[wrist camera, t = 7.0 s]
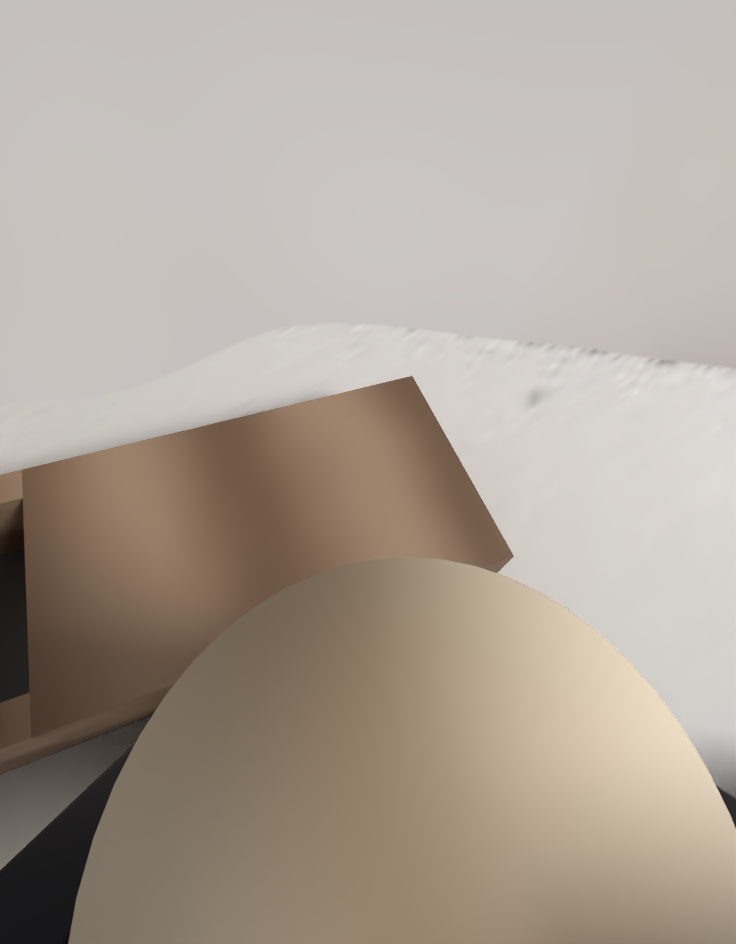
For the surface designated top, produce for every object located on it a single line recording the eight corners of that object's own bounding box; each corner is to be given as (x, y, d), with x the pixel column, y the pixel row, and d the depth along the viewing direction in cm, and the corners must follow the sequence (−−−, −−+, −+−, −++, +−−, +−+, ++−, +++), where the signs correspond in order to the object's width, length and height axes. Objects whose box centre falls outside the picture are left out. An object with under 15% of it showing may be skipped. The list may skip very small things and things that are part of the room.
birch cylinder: (332, 1024, 8) (396, 2271, 1) (200, 774, 10) (-52, 819, 3) (510, 815, 10) (903, 942, 3) (373, 634, 12) (446, 472, 5)
